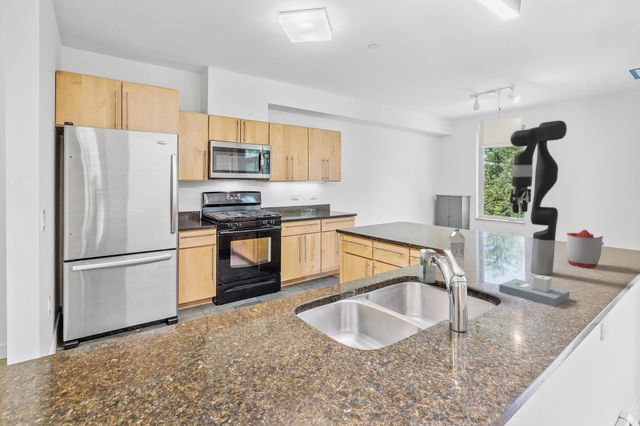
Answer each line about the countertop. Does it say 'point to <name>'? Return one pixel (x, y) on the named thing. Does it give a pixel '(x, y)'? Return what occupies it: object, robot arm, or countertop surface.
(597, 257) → the citrus juicer
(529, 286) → the plate
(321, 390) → the countertop surface
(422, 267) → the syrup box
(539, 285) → the charger plug
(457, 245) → the water bottle
